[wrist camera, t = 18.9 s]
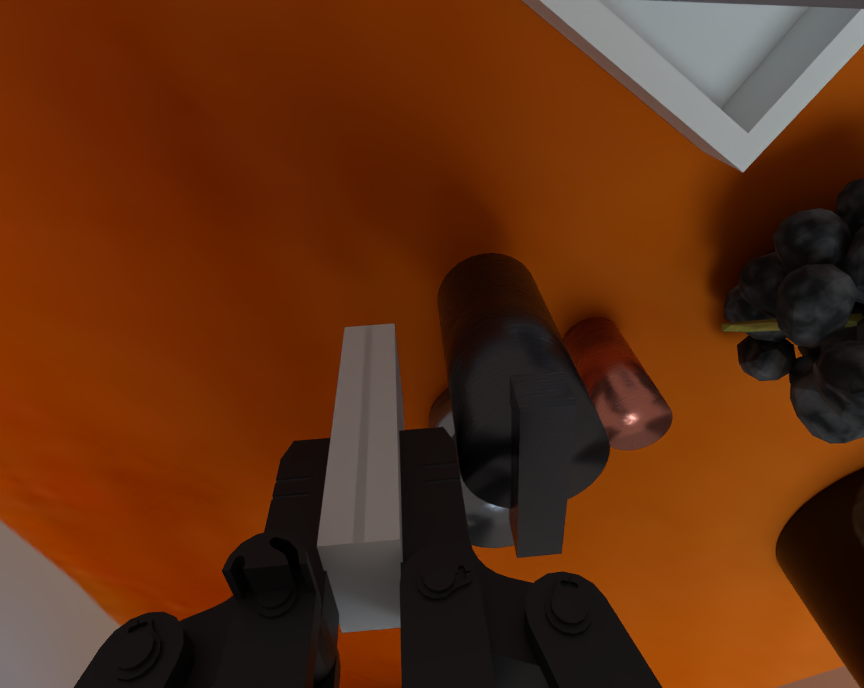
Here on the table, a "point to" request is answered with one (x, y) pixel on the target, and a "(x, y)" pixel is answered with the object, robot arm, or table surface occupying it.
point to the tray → (714, 62)
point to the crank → (514, 407)
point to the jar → (831, 566)
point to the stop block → (788, 2)
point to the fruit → (809, 315)
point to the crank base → (603, 387)
